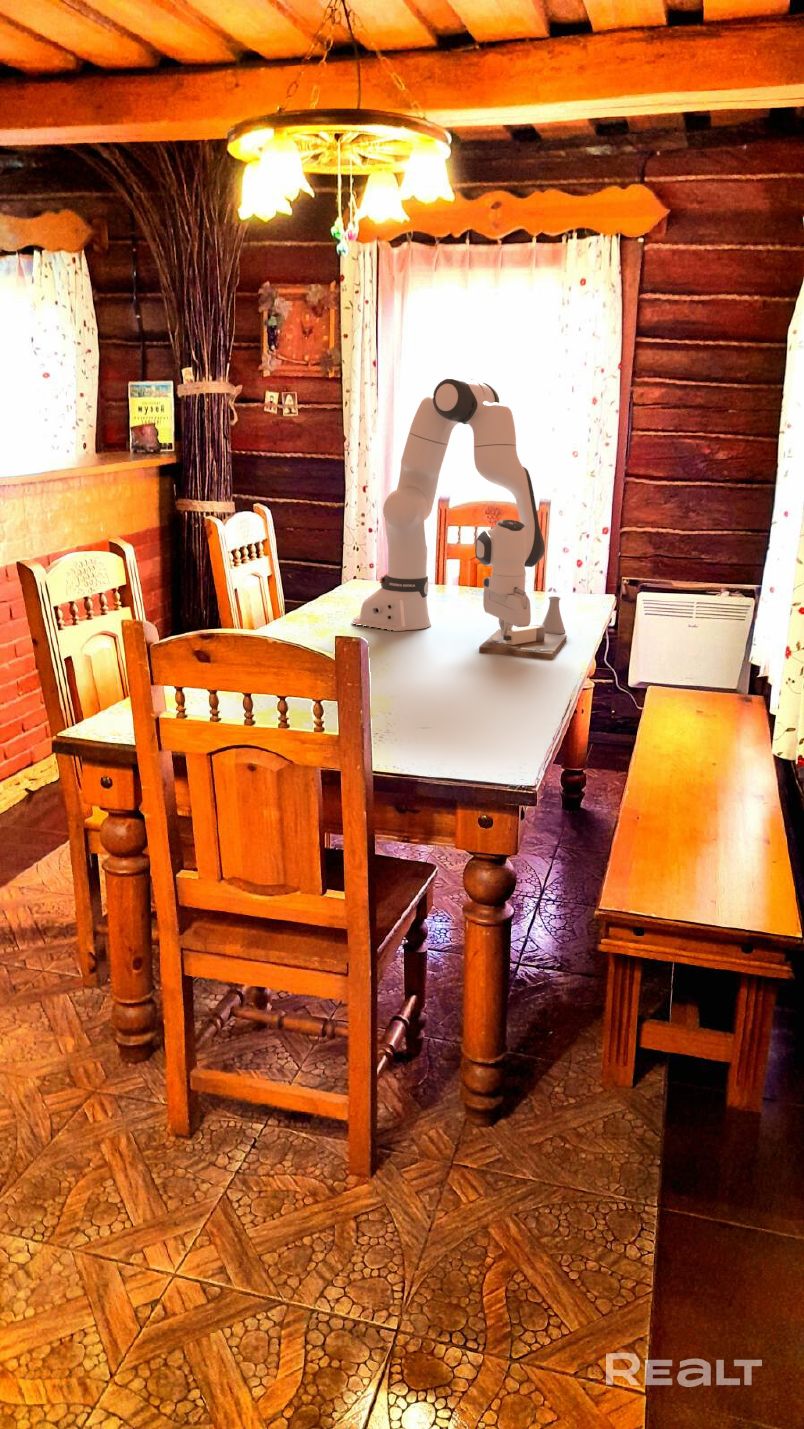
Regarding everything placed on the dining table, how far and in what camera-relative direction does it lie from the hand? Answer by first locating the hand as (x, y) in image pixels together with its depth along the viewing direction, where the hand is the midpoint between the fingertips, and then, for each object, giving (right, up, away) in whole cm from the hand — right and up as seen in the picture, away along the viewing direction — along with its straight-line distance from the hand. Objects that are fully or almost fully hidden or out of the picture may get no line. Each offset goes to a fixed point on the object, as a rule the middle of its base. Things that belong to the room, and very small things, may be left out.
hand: (505, 636), depth 274 cm
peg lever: (+5, -1, +1) cm, 5 cm away
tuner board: (+5, -2, +3) cm, 7 cm away
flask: (+15, +2, +20) cm, 26 cm away
